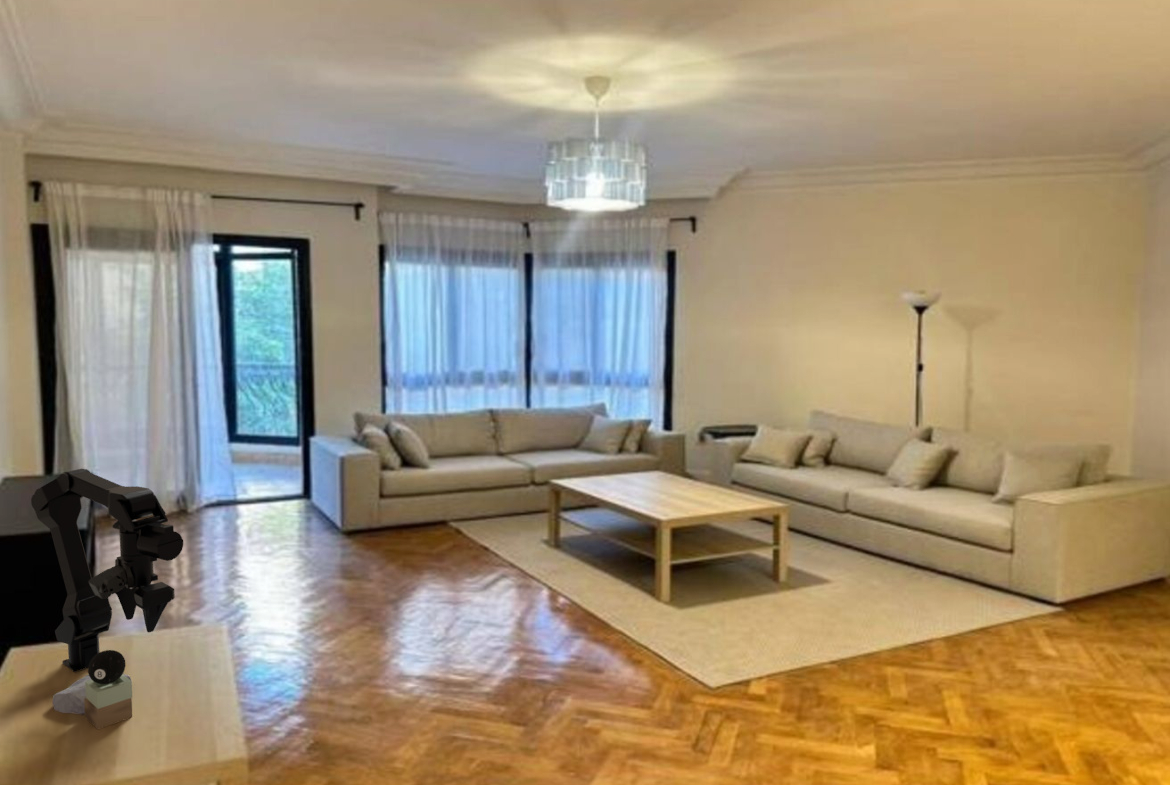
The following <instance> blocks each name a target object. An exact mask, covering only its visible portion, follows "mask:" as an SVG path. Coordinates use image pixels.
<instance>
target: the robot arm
mask: <svg viewBox="0 0 1170 785" xmlns="http://www.w3.org/2000/svg"><path fill="white" fill-rule="evenodd" d="M82 498H85V499H88V500H91V501H93V502H95V503H97V504H100V505H101V506H104V507H106V509H107V513H108V515H109V516H111V517H113V518H114V519H116V520H117V521H116V522H114V523H113V524H112V528H113V529H116V530H119V534H118V535H119V549H120V552H119V553H120V556H117V557H116V559H114V560H115V561H114V563H115V564H114V566H112V567H110V568H107V569H106V570H104V571H102V572H100V573H98V574H97V575H94V576H93V577H92V574H91V571H90V567H89V564H88V560H87V555H86V552H85V548H84V545H83V542H82V537H81V534H80V529H79V525H78V519H79V517H80V513H81V511H82V508H83V506H82V501H81V500H82ZM30 499H31V500H30V501H31V502H30V504H31V506H32V508H33V510H34V512H35V515H36V518H37V519H38V520H39V521H40V522H41V523H42V524H43V525H45V526H46V527H47V528H48V529H49V530H50V533H51V537H52V541H53V546H54V550H55V552H56V556H57V557H56V558H57V561H58V564H59V567H60V571H61V575H62V579H63V583H64V586H65V591H66V595H67V596H66V598H65V602H64V604H63V606H62V617H63V620H62V621H61V622H60V624H59V625H58V626H57V628H56V629H55V630H54V633H55V637H56V641H57V642H61V643H63V644H66V645H67V652H68V658H67V659H63V660H62V664H63V665H64V666H65V667H66V668H68V669H69V670H71V671H72V672H73V673H74V672H75V673H76V672H79V671H82V670H85V669H88V667H89V663H90V661H91V660H92V658H93V657H94V656H95V655H96V654H98V653H100V652H101V650H100V635H99V634H102V633H104V632H105V633H106V632H108V631H109V630H110V626H111V620H112V616H113V611H112V610H113V609H112V606H111V605H110V600H109V597H111V596H112V595H116V596H117V599H118V601H119V603H120V606H121V608H122V611H123V614H124V617H125V620H127V621H129V620H132V619H133V618H134V615H135V612H136V608H137V607H138V608H140V609H141V610H142V615H143V619H144V624H145V628H146V632H147V633H151V632H154V631H155V629H156V626H157V624H158V622H159V621H160V617H161V616H162V614H163V612H164V610H165V609H166V607H167V605H168V604H169V603H170V602H172V601H173V600H174V599H175V598H176V597H175V588H173V587H172V586H170V585H168V584H167V583H164V582H163V581H159V582H156V583H155V581H158V579H159V578H158V574H156V573H154V562H157V561H158V560H162V561H167V562H168V561H170V562H171V561H173V560H174V559H176V558H177V557H178V556H179V555H180V554H181V552H182V550H183V547H184V539H183V538H182V535H181V534H180V533H179V532H177V531H174V529H175V528H174V525H172V524H165V523H168V521H169V519H168V517H167V515H166V514H167V513H166V511H165V510H164V508H163V507H162V505H161V503H160V502H159V499H158V498H157V496H156V495H155V493H154V492H153V491H152V490H151V489H150V488H147V487H142V486H125V485H121V484H118V483H115V482H113V481H111V480H109V479H106V478H103V477H102V476H99V475H96V474H95V473H92V472H91V471H90V470H89V469H87V468H78V469H77V468H76V469H72V470H68V471H67V470H66V471H64V472H63V473H61V474H59V475H58V476H57V477H56V478H55V479H53V480H52V481H50V482H48V483H46V484H44V485H42V486H41V487H38V488H37V489H36V490H35V491H34V493H33V494H32V496H31V498H30ZM149 516H150V517H149ZM138 519H139V520H138ZM152 582H154V583H152Z"/></svg>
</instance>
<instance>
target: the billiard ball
mask: <svg viewBox="0 0 1170 785" xmlns="http://www.w3.org/2000/svg"><path fill="white" fill-rule="evenodd" d="M125 670H126V659H125V656H124V655H123V654H122V653H121V652H119V651H117V650H113V649H106V650H103V651H100V653H98V654H96V655H95V656H94V657H93V658H92V660H91V661H90V663H89V667H88V668H87V672H88V675H89V676H90V678H91V679H92V680H93V681H94V682H96V683H98V684H109V683H112V682H114V681H116V680H118V679H119V678H120V677H121V676H122V674H124V673H125Z"/></svg>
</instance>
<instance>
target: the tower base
mask: <svg viewBox="0 0 1170 785" xmlns="http://www.w3.org/2000/svg"><path fill="white" fill-rule="evenodd" d="M132 699H133V697H132V698H129V699H126V700H123V701H120V702H117V703H114V704H111V705H108V706H105V707H102V708H99V709H97V708H96V707H95V706H94V705H93V704H92V703H91V702H90V701H89V700H88V699H87V698H84V707H85V714H84V719H86V720H87V721H88V722H89V723H90V724H91V725H92V726H94V727H95V728H96V729H97V730H100V729H104V728H105V727H108V726H111V725H114V724H117V723H119V722H122V721H124V720H128V719H130V718H133V703H132V702H133V700H132Z"/></svg>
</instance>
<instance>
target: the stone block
mask: <svg viewBox="0 0 1170 785" xmlns="http://www.w3.org/2000/svg"><path fill="white" fill-rule="evenodd" d="M123 675H125V676H126V677H127V678H128V679H129V680H131V681H132V678H131V676H130V675H129V674H126V673H123ZM89 680H92V679H91V678H90V676H89V674H86V675H85V676H83V677H82V678H79V679H77V680H75V681H74V682H73V683H72V684H71V685H70V686H69V687H68V688H65V689H63V690H60V691H58V692H56V693H55V694H53V695H52V696H53V697H52V706H53V708H54V709H53V710H54V711H57V712H59V713H63V714H65V713H66V714H76V715H85V707H84V698H86V691H85V682H86V681H89Z"/></svg>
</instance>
